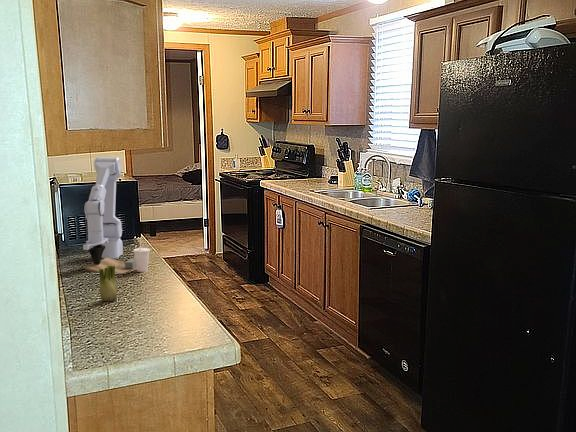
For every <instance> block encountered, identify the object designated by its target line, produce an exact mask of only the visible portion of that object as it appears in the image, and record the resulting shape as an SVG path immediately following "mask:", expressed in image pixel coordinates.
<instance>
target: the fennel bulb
mask: <svg viewBox="0 0 576 432" xmlns="http://www.w3.org/2000/svg"><path fill="white" fill-rule="evenodd" d="M98 273H99V296H100V299H101V301H102V302H113V301H115V300H117V299H118V284H117V281H116V273H115V265H111V266H110V265H107V267H105V270H104V272H103V268H100V269H99V272H98Z"/></svg>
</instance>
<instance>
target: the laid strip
mask: <svg viewBox="0 0 576 432" xmlns="http://www.w3.org/2000/svg"><path fill="white" fill-rule="evenodd" d="M134 269H137V267H136V266H135V267H134V268H133V269H130V268H125V263H123V264H120V265H118V266H116V267H115V275H116V274H118V275H123V274H125V273H127V272H130V271H132V270H134Z"/></svg>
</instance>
